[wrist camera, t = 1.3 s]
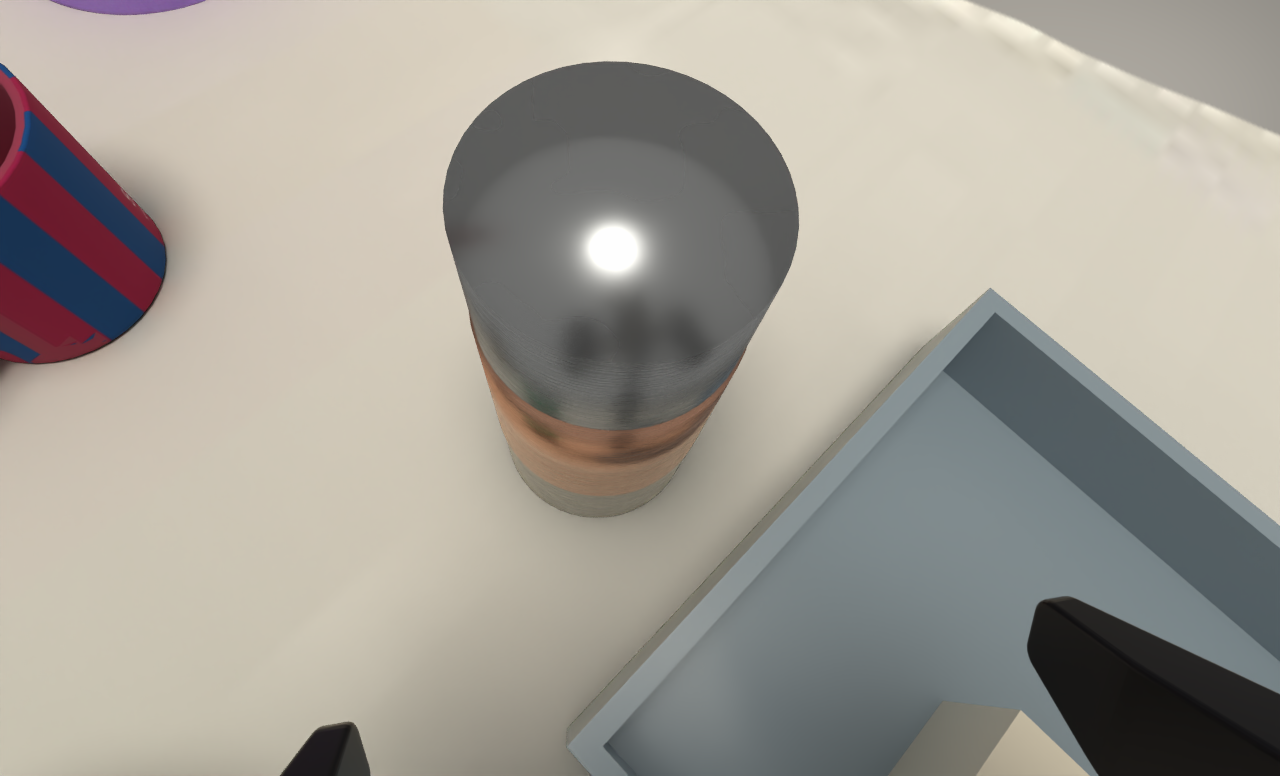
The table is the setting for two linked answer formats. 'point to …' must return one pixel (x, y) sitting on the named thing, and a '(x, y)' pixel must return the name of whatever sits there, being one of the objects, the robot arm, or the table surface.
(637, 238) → the tin
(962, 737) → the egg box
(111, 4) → the masking tape
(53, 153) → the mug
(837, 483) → the tote
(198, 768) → the table surface
